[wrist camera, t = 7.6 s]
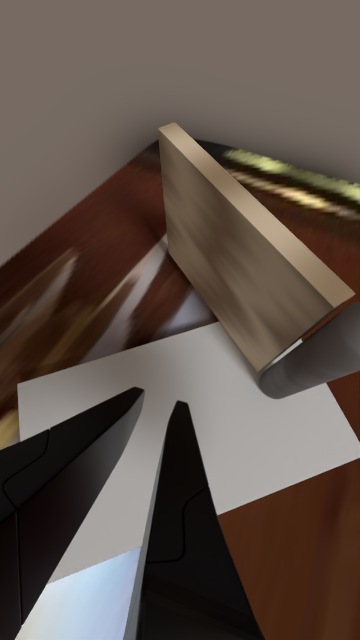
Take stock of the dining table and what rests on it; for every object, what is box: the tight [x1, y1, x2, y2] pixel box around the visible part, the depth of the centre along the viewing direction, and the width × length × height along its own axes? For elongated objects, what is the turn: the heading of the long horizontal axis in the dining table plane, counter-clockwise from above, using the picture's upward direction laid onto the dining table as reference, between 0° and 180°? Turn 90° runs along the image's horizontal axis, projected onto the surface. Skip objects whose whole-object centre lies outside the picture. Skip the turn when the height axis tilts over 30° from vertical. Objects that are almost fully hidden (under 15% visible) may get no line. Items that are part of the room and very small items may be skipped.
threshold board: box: [17, 321, 360, 584], centre depth 16 cm, size 20×11×1 cm, turn 108°
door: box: [158, 123, 360, 399], centre depth 15 cm, size 14×4×10 cm, turn 31°
